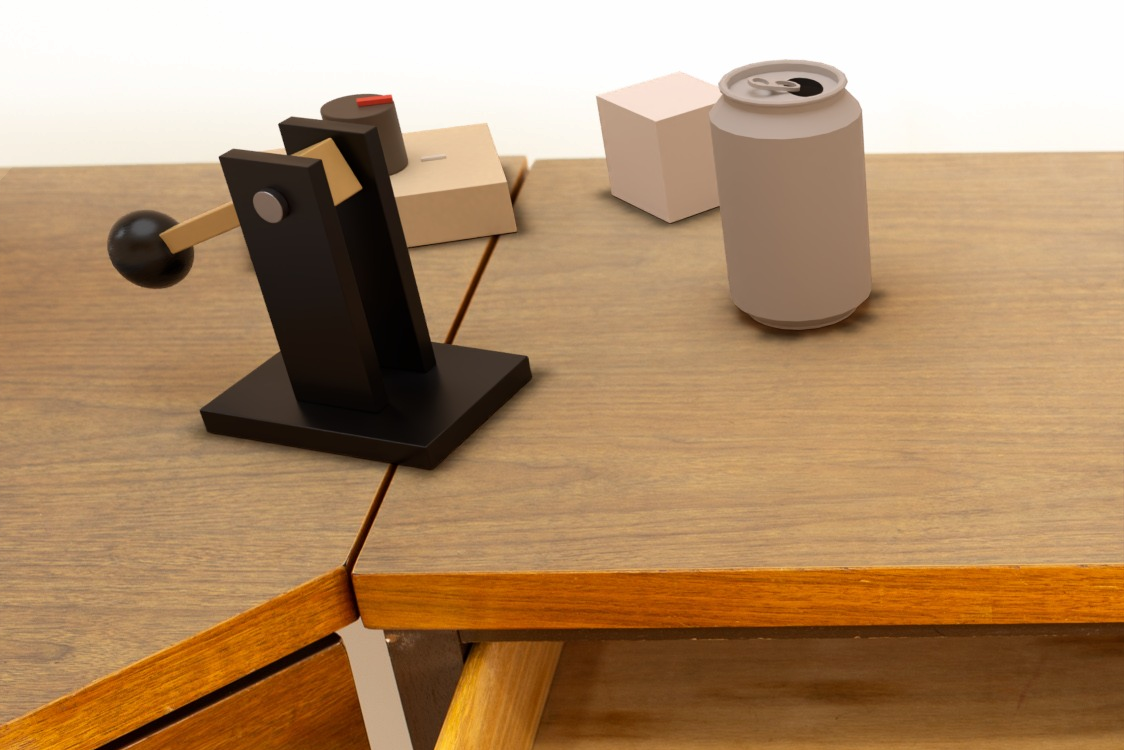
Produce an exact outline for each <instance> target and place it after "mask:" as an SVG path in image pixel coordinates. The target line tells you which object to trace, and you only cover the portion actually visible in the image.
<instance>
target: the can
mask: <svg viewBox="0 0 1124 750" xmlns="http://www.w3.org/2000/svg"><path fill="white" fill-rule="evenodd" d="M848 83H849V82H848V77H847V76H846V73H845V72H843V71H842V70H840V69H838V68H837V67H835V66H834V65H830V64H827V63H824V62H822V61H821V62H820V61H813V60H808V59H807V60H806V59H788V58H787V59H773V60H763V61H758V62H752V63H748V64H745V65H741V66H739V67H735V68H734V69H732V70H730V71H729V72H726V73H725V74H724V75H723V76H722V77H721V78H720V80H719V81H718V85H717V86H718V87H719V90H720V92H721V93H722V95H721V97H720V98H719V99H718V101H717V102H716V103H715V105H714V106H713V108H712V109H711V111H710V112H709V120H710V128H711V137H712V145H713V154H714V162H715V171H716V179H717V188H718V196H719V205H720V206H719V211H720V221H721V228H722V237H723V239H722V240H723V246H724V254H725V263H726V271H727V280H728V289H729V295H730V300H731V302H732V303H733V304H734V305H736V307H737V308H738V309H739V310H741V311H742V312H744V313H746V314H748V315H749V316H750V317H751V318H752V319H753V320H754V321H755V322H758V323H759V324H763V325H764V326H767V327H771V328H776V329H781V330H794V331H795V330H797V331H798V330H799V331H803V330H811V329H819V328H824V327H828V326H831V325H835V324H836V323H839V322H841V321H843V320H845V319H848V318H849V317H850V316H851V315H852V314H853V313H855V312H856V310H857V308H858V307H859V306H860V305H862V303H863V302H865V301H866V300H867V299H868V298H869V296H870V294H871V292H872V288H873V279H872V278H873V277H872V262H871V245H870V228H869V227H870V226H869V210H868V209H869V207H868V190H867V174H866V157H865V154H866V153H865V138H864V121H863V120H864V118H863V108H862V106H861V104H860V101H859V100H858V99H857V98H856V97H855V96H853V95H852V93H851V92H850V91H849V90H848V89H847V88H846V86H848V85H847V84H848Z"/></svg>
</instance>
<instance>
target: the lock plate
mask: <svg viewBox="0 0 1124 750" xmlns="http://www.w3.org/2000/svg"><path fill="white" fill-rule="evenodd" d="M402 136H403V140H404V145H405V149H406V153H407V157H408V164H407V166H406V167H405V168H403V169H402V170H400V171H398V172H396V173H393V174H390V175H389V176H390V180H391V184H392V188H393V192H394V196H395V200H396V204H397V208H398V212H399V216H400V220H401V224H402V228H403V232H404V235H405V239H406V243H407V247H408V248H412V247H419V246H426V245H433V244H440V243H448V242H454V241H461V240H467V239H469V240H470V239H474V238H482V237H488V236H496V235H502V234H503V235H504V234H508V233H509V234H510V233H515V232H518V227H517V224H516V218H515V214H514V209H513V204H512V203H513V202H512V199H511V194H510V190H509V189H510V188H509V184H508V181H507V177H506V174H505V172H504V169H503V166H502V162H501V160H500V155H499V154H498V151H497V148H496V145H495V142H494V138H493V136H492V133H491V130H490V126H489V124H488V122H482V123H474V124H466V125H459V126H450V127H442V128H434V129H426V130H417V131H410V132H402ZM257 151H258V152H266V153H275V154H283V155H287V154H286V150H285V147H282V148H274V149H265V150H257Z"/></svg>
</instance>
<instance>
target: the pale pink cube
mask: <svg viewBox="0 0 1124 750" xmlns="http://www.w3.org/2000/svg"><path fill="white" fill-rule="evenodd" d="M721 95H722V93H721V92H720V90H719V86H718V85H716V84H713V83H711V82H709V81H708V82H707V81H705V80H704V79H700V78H698V77H695V76H693V75H690V74H688V73H685V72H683V71H681V70H679V71H676V72H672V73H669V74H666V75H665V74H664V75H662V76H659V77H655V78H652V79H649V80H645V81H641V82H638V83H635V84H631V85H628V86H624V87H620V88H617V89H614V90H610V91H607V92H602V93H600V94H597V95H595V99H596V107H597V111H598V118H599V124H600V130H601V137H602V144H603V148H604V155H605V161H606V167H607V173H608V174H607V175H608V179H609V185H610V191H611V195H612V196H613V197H616V198H618V199H619V200H622V201H624V202H625V203H628V204H630V205H632V206H634V207H635V208H638V209H640V210H642V211H644V212H646V213H648V214H650V215H653V216H654V217H656V218H659V219H661V220H662V221H664V222H666V223H669V224H671V223H676V222H678V221H681V220H683V219H686V218H688V217H691V216H695V215H697V214H701V213H704V212H707V211H708V210H712V209H714V208H718V207H720V205H719V196H718V188H717V179H716V171H715V162H714V154H713V145H712V137H711V128H710V120H709V112H710V111H711V109H712V108H713V106H714V105H715V103H716V102H717V101H718V99H719V98H720V97H721Z"/></svg>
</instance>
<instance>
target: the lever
mask: <svg viewBox="0 0 1124 750" xmlns="http://www.w3.org/2000/svg"><path fill="white" fill-rule="evenodd" d="M291 156H299V157H308V158H316V159H322V162H323V165H324V169H325V172H326V176H327V180H328V183H329V187H330V190H331V194H332V198H333V201H334V205H335V206H337V205H338V204H340V203H341V202H343V201H344V200H346V199H348V198H349V197H351V196H352V195H354V194H355V193H357V192H358V191H360V190H362V186H361V185H360V183H359V181H358V180H357V178H356V177H355V175H354V173H353V172H352V170H351V169H350V167H349V165H348V164H347V162H346V161H345V159H344V157H343V156H342V154H341V153H340V151H339V149H338V148H337V146H336V145H335V143H334V141H333V140H332V139H331V138H328V139H326V140H324V141H321V142H319V143H317V144H315V145H312V146H310V147H308V148H306V149H303V150H301V151H299V152H297V153H294V154H292V155H291ZM239 227H241V226H240V223H239V220H238V217H237V214H236V211H235V208H234V204H233V201H232V200H231V201H228V202H226V203H223V204H222V205H219V206H217V207H214V208H211V209H209V210H208V211H205V212H203V213H200V214H198V215H196V216H194V217H191V218H189V219H187V220H184V221H182V222H180V221H178V220H176V219H175V218H174V217H172V216H171V215H168V214H167V213H164V212H162V211H158V210H155V209H154V210H153V209H138V210H133V211H130V212H127V213H126V214H124V215H122V216H121V217H119V218H118V219H117V220H116V221H115V222H114V223H113V225H112V226H111V228H110V230H109V232H108V235H107V241H106V248H107V254H108V257H109V260H110V262H111V264H112V266H113V268H114V269H115V270H116V271H117V273H119V275H120V276H121V277H123V278H124V279H125V280H127V282H129V283H131V284H133V285H135V286H137V287H140V288H144V289H147V290H148V289H149V290H162V289H163V290H164V289H168V288H170V287H173V286H176V285H178V284H179V283H181V282H182V281H183V280H185V278H187V276H188V275H189V273H190V272H191V270H192V268H193V266H194V262H195V247H194V246H197V245H198V244H201V243H204V242H206V241H208V240H210V239H213V238H215V237H218V236H220V235H222V234H225V233H227V232H230V231H232V230H234V229H236V228H237V229H238V228H239Z"/></svg>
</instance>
